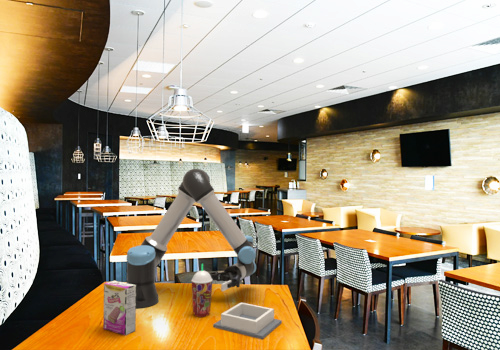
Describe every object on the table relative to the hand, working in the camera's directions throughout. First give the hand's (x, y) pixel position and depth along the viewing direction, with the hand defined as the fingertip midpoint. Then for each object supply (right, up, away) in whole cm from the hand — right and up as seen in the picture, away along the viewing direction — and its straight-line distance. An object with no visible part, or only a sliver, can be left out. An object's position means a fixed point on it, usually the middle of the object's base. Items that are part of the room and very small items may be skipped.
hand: (207, 285), depth 147 cm
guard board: (+16, -11, -12) cm, 23 cm away
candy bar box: (-29, -11, -18) cm, 36 cm away
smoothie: (-2, -11, -2) cm, 12 cm away
